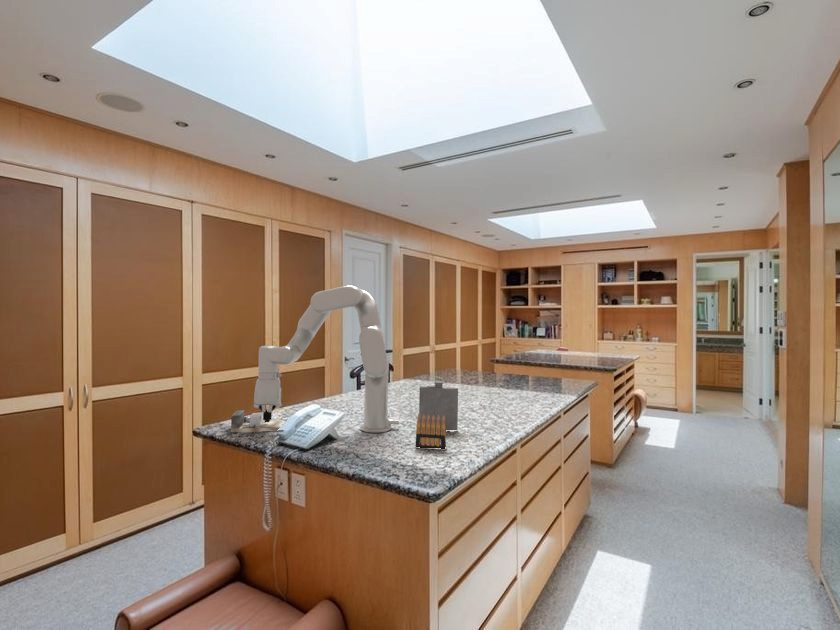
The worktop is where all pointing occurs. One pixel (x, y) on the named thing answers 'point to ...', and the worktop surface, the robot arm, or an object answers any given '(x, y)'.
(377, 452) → the worktop surface
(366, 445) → the worktop surface
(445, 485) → the worktop surface
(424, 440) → the ammunition clip
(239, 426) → the gauge base
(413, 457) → the worktop surface
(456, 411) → the hip flask
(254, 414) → the gauge carriage
